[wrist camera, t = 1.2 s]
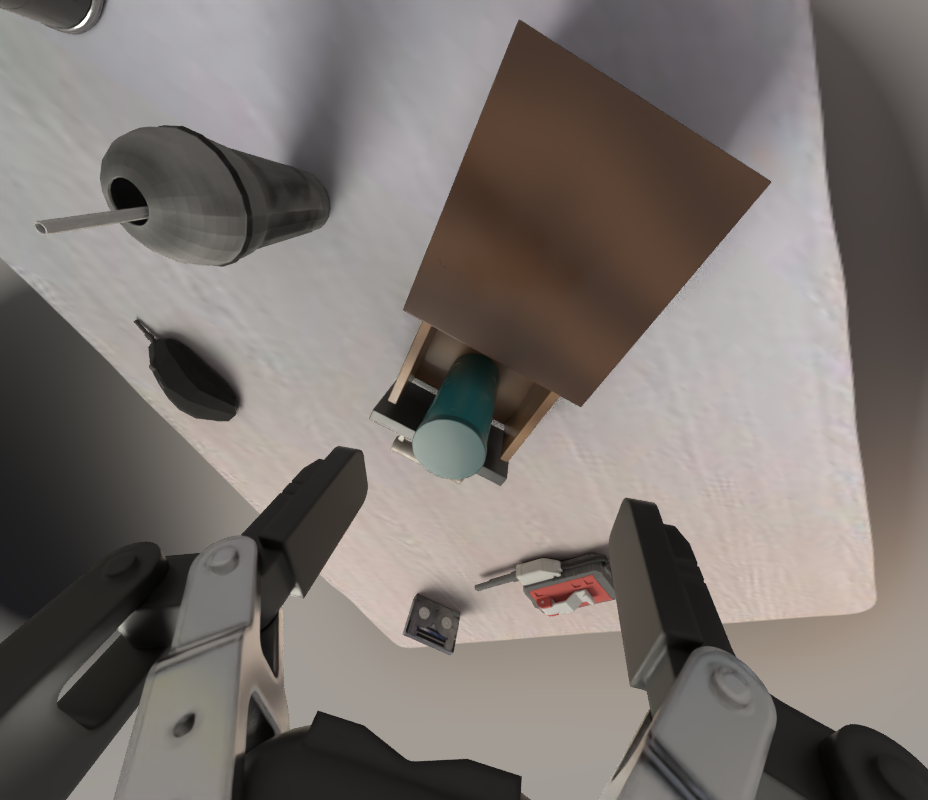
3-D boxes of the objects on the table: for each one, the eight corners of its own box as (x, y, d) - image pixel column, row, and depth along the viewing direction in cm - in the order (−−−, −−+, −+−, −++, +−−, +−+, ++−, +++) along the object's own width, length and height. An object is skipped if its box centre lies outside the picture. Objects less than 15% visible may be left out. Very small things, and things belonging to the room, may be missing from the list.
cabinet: (571, 360, 33) (581, 407, 26) (434, 284, 32) (402, 310, 24) (701, 187, 25) (772, 181, 17) (524, 75, 24) (518, 18, 16)
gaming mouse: (148, 305, 39) (110, 315, 35) (250, 403, 43) (225, 420, 40) (126, 334, 41) (90, 346, 38) (225, 424, 46) (200, 442, 43)
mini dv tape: (413, 597, 59) (402, 635, 54) (416, 593, 58) (405, 632, 53) (457, 617, 59) (449, 656, 54) (460, 613, 58) (453, 653, 53)
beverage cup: (294, 127, 28) (-94, 10, 11) (361, 205, 30) (123, 211, 13) (252, 198, 31) (-95, 194, 14) (315, 263, 33) (77, 330, 16)
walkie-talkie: (596, 537, 44) (472, 575, 53) (601, 568, 40) (467, 604, 49) (627, 577, 47) (505, 607, 55) (636, 610, 43) (503, 637, 51)
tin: (439, 385, 35) (401, 458, 25) (462, 342, 32) (429, 405, 22) (485, 409, 35) (465, 490, 25) (511, 369, 32) (500, 442, 23)
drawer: (487, 467, 40) (479, 512, 34) (382, 413, 39) (355, 450, 33) (589, 331, 31) (601, 362, 25) (453, 254, 29) (432, 267, 24)
